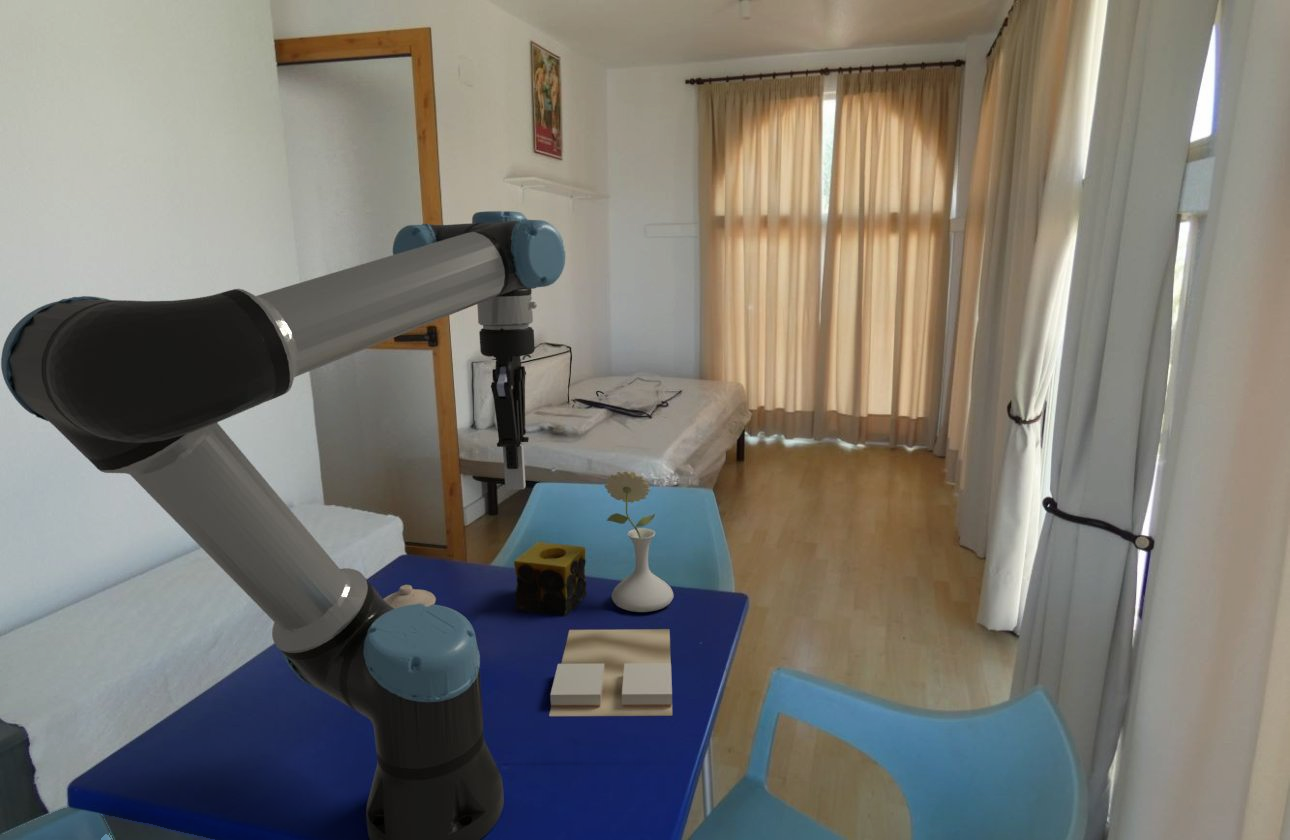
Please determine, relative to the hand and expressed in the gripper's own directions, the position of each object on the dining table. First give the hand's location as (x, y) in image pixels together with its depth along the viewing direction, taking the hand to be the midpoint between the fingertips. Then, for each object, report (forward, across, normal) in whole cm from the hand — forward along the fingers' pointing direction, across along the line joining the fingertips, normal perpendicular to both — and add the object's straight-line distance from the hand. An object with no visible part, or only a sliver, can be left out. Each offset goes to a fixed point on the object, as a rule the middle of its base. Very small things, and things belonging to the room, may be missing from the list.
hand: (515, 487), depth 108 cm
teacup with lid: (+30, +5, +18) cm, 35 cm away
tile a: (+28, -3, -9) cm, 29 cm away
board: (+29, -1, -14) cm, 33 cm away
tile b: (+28, -3, -19) cm, 34 cm away
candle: (+30, +22, -1) cm, 37 cm away
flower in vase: (+30, +22, -17) cm, 41 cm away
